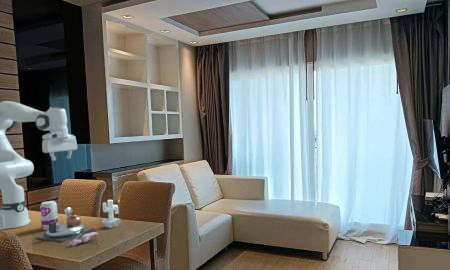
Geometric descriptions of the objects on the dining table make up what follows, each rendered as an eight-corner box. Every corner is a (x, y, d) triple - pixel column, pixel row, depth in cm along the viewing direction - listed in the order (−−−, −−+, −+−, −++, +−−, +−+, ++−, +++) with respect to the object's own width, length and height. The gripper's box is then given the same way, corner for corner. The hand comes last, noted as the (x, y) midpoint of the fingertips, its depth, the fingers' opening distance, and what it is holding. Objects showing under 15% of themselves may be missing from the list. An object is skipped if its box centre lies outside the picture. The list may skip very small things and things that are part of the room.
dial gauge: (62, 227, 185) (61, 208, 185) (70, 224, 190) (69, 206, 190) (68, 228, 183) (67, 209, 183) (76, 225, 188) (75, 206, 188)
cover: (64, 226, 180) (63, 216, 180) (74, 222, 186) (74, 213, 186) (73, 227, 177) (72, 217, 177) (83, 223, 183) (83, 214, 183)
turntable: (38, 235, 172) (37, 222, 172) (68, 225, 188) (67, 213, 188) (62, 238, 165) (61, 224, 164) (91, 227, 181) (90, 215, 181)
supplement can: (51, 230, 184) (49, 204, 184) (38, 230, 186) (36, 204, 186) (61, 226, 192) (59, 200, 192) (48, 226, 194) (47, 200, 194)
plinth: (35, 238, 172) (35, 236, 172) (68, 226, 190) (68, 225, 190) (62, 242, 163) (62, 240, 163) (94, 229, 181) (94, 228, 181)
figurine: (122, 224, 188) (121, 198, 188) (108, 229, 181) (107, 202, 180) (114, 223, 192) (112, 197, 192) (100, 227, 185) (98, 201, 184)
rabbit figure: (71, 251, 154) (101, 237, 164) (68, 239, 153) (98, 226, 163) (66, 248, 158) (95, 235, 169) (63, 236, 157) (93, 224, 168)
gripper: (71, 134, 197) (73, 157, 197) (39, 136, 179) (41, 161, 179) (78, 133, 195) (80, 157, 195) (47, 135, 176) (49, 161, 176)
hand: (61, 159), depth 187 cm, fingers open, 8 cm apart
